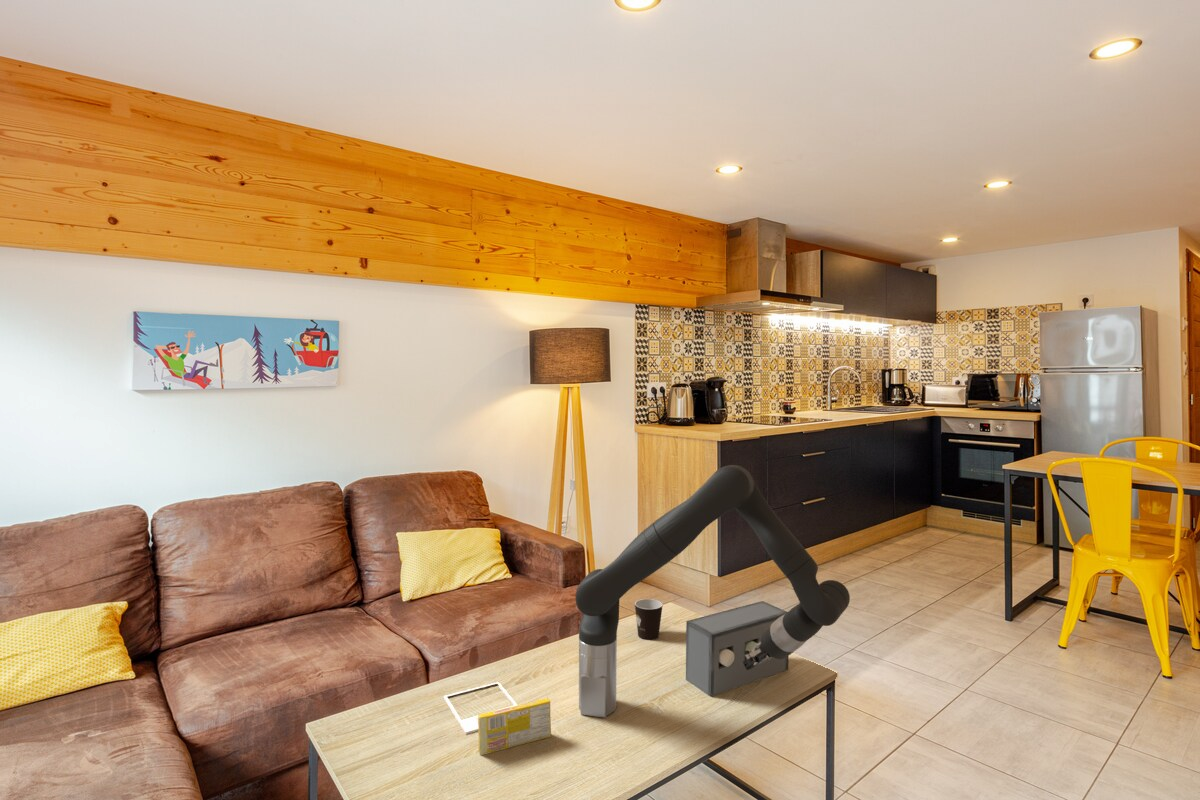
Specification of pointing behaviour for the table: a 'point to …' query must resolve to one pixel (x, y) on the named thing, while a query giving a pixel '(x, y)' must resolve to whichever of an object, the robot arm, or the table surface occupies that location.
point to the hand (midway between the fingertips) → (746, 665)
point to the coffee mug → (648, 618)
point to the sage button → (750, 645)
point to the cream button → (726, 657)
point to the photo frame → (472, 722)
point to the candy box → (514, 726)
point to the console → (729, 647)
